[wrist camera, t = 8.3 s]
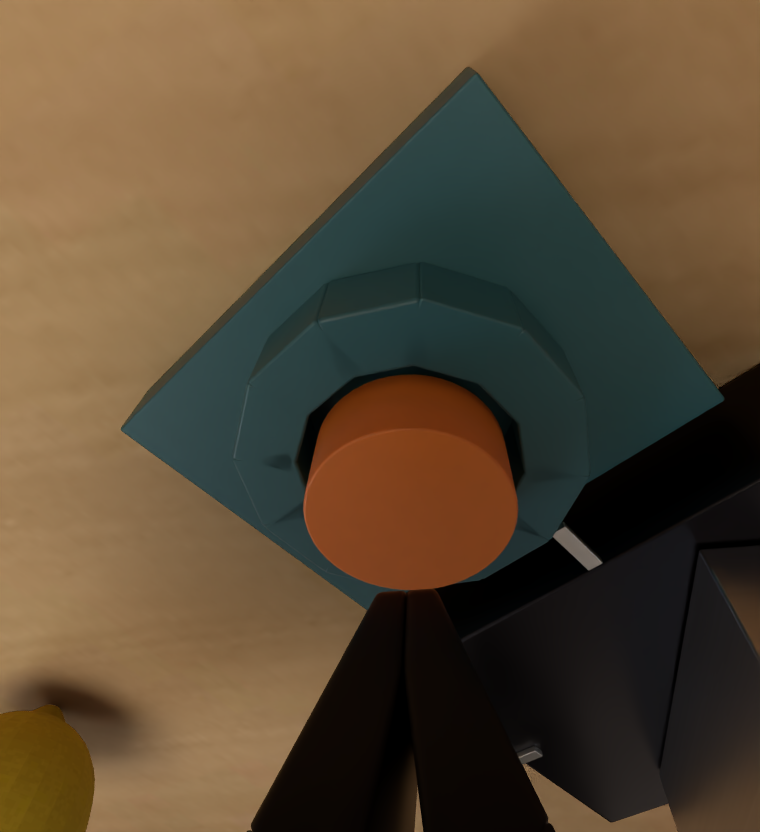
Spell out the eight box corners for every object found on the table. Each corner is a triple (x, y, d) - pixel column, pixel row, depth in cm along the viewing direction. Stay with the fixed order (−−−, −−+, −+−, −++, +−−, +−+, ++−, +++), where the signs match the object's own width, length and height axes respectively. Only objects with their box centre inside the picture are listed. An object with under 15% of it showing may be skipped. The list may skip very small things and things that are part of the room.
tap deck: (598, 756, 23) (623, 853, 20) (346, 565, 18) (334, 660, 15) (1001, 598, 17) (1107, 701, 15) (797, 266, 13) (900, 331, 10)
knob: (724, 771, 17) (817, 995, 13) (658, 773, 18) (730, 995, 14) (789, 540, 13) (967, 782, 9) (698, 547, 13) (828, 786, 9)
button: (404, 551, 13) (403, 617, 12) (277, 449, 12) (258, 510, 10) (543, 461, 12) (562, 525, 10) (417, 334, 10) (417, 386, 9)
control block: (374, 566, 18) (367, 674, 15) (147, 390, 15) (82, 481, 12) (694, 361, 14) (770, 453, 11) (468, 65, 11) (488, 81, 8)
